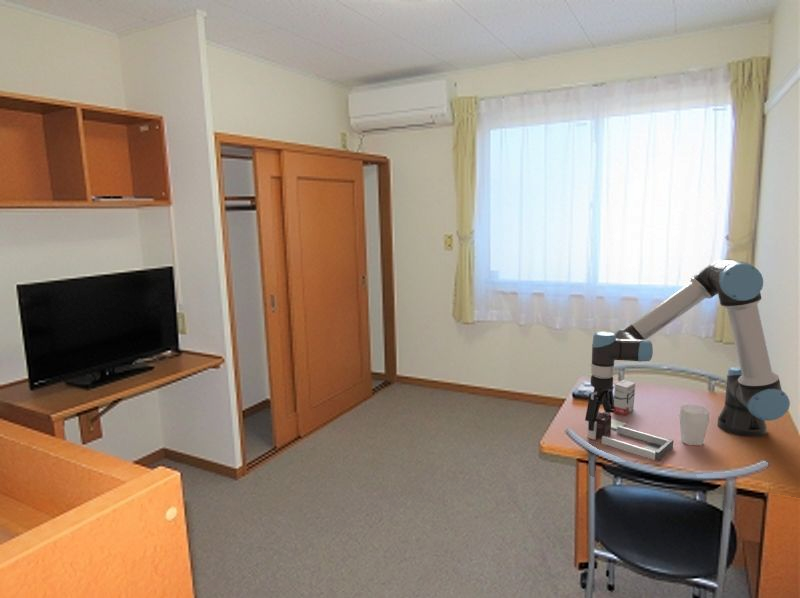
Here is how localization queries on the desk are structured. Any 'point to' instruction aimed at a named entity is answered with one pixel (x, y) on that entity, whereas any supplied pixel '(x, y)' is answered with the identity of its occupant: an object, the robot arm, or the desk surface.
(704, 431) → the cup
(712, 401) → the desk surface
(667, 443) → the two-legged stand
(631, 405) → the ink box
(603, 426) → the box
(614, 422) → the pad
